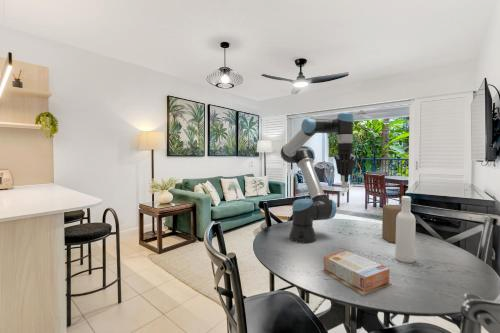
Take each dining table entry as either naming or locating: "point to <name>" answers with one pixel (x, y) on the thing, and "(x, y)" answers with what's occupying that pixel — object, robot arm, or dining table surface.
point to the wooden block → (390, 222)
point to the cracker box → (357, 270)
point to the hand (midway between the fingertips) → (344, 187)
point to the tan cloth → (355, 286)
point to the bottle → (405, 233)
